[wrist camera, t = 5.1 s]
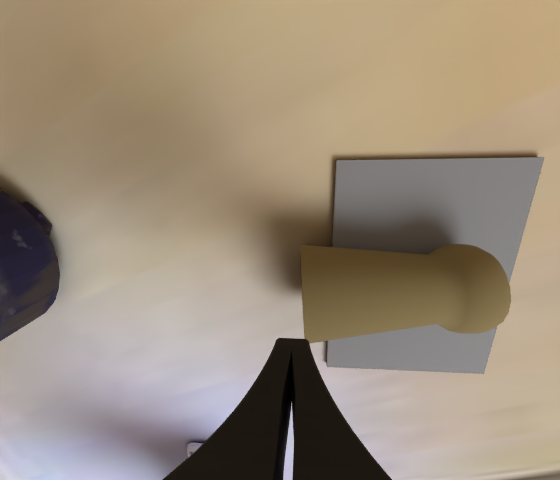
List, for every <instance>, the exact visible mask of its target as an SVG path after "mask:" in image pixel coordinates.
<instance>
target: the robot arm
mask: <svg viewBox="0 0 560 480" xmlns="http://www.w3.org/2000/svg"><path fill="white" fill-rule="evenodd" d="M291 403H292V412H293V430H294V460H293V480H392V479H391V478H390V477H389V476H388V475H387V473H386V472H385V471H384V470H383V469H382V468H381V466H380V465H379V464H378V463H377V462H376V460H375V459H374V458H373V457H372V456H371V454H370V453H369V452H368V450H367V449H366V448H365V446H364V445H363V444H362V442H361V441H360V440H359V438H358V437H357V436H356V434H355V433H354V432H353V430H352V429H351V427H350V426H349V424H348V423H347V421H346V420H345V418H344V417H343V415H342V414H341V412H340V410H339V409H338V407H337V405H336V404H335V402H334V400H333V399H332V397H331V395H330V393H329V391H328V389H327V387H326V385H325V383H324V381H323V379H322V377H321V375H320V373H319V370H318V368H317V366H316V363H315V361H314V358H313V355H312V352H311V349H310V345H309V341H308V340H307V339H291V338H278V339H277V340H276V342H275V345H274V348H273V350H272V352H271V354H270V356H269V358H268V360H267V362H266V364H265V366H264V367H263V369H262V371H261V373H260V374H259V376H258V377H257V379H256V381H255V382H254V384H253V385H252V387H251V388H250V390H249V391H248V393H247V394H246V395H245V397H244V398H243V399H242V401H241V402H240V403H239V405H238V406H237V407H236V408H235V410H234V411H233V412H232V413H231V414H230V416H229V417H228V418H227V419H226V420H225V421H224V423H223V424H222V425H221V426H220V427H219V428H218V429H217V430H216V431H215V432H214V433H213V434H212V435H211V436H210V437H209V438H208V439H207V440H206V441H205V442H204V443H189V444H188V446H187V454H188V458H187V459H186V460H185V461H184V462H183V463H182V464H180V465H179V466H178V467H177V468H176V469H175V470H173V471H172V472H171V473H170V474H169V475H168V476H166V477H165V478H164V479H163V480H283V471H284V460H285V451H286V443H287V435H288V427H289V419H290V411H291Z"/></svg>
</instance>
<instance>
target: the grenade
mask: <svg viewBox="0 0 560 480" xmlns="http://www.w3.org/2000/svg"><path fill="white" fill-rule="evenodd" d="M51 228H52V225H51V224H50V222H49V221H48V220H47V219H46V218H45V217H44V215H43V214H42V213H41V212H39V211H38V210H37V209H36V208H34V207H33V206H32V205H31V204H29V203H28V202H24V203H18V202H17V201H16V200H15V199H13V198H12V197H11V196H10V195H9V194H7V193H5V192H4V191H2V190H0V341H1V340H3V339H4V338H6V337H8V336H9V335H11V334H12V333H14V332H16V331H17V330H19V329H20V328H22V327H24V326H25V325H27V324H28V323H30V322H31V321H33V320H35V319H36V318H38V317H39V316H41V315H42V314H44V313H45V312H46V311H47V310H48V309H49V308H50V306H51V305H52V304H53V303H54V300H56V295H57V292H58V289H59V277H60V272H59V266H58V260H57V256H56V254H55V251H54V249H53V246H52V244H51V242H50V240H49V239H48V237H47V235H49V234H50V231H51Z"/></svg>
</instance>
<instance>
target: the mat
mask: <svg viewBox="0 0 560 480" xmlns="http://www.w3.org/2000/svg"><path fill="white" fill-rule="evenodd" d="M543 161H544V157H515V158H449V159H382V160H336V171H335V192H334V214H333V235H332V247H336V248H348V249H361V250H374V251H386V252H399V253H411V254H424V255H428V254H429V253H430V252H432V251H433V250H435V249H436V248H438V247H442V246H445V245H452V244H467V245H472V246H477V247H479V248H480V249H482V250H484V251H486V252H488V253H490V254H492V255H493V256H494V257H495V258H496V259H497V260H498V261H499V262H500V264H501V266H502V267H503V269H504V271H505V273H506V275H507V279H508V282H510V278H511V275H512V271H513V268H514V264H515V261H516V257H517V253H518V250H519V246H520V243H521V239H522V236H523V232H524V228H525V225H526V221H527V218H528V214H529V211H530V207H531V203H532V200H533V196H534V193H535V189H536V186H537V182H538V178H539V175H540V171H541V168H542V164H543ZM496 329H497V326H496V327H495V328H493V329H491V330H490V331H487V332H483V333H480V334H464V333H456V332H452V331H448V330H446V329H445V328H443V327H441V326H440V325H438V324H435V325H428V326H421V327H415V328H408V329H401V330H395V331H388V332H381V333H375V334H368V335H361V336H355V337H348V338H341V339H335V340H328V342H327V367H341V368H363V369H386V370H408V371H431V372H453V373H475V374H484V371H485V368H486V364H487V361H488V357H489V354H490V350H491V346H492V343H493V339H494V336H495V332H496Z"/></svg>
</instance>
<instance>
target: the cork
mask: <svg viewBox="0 0 560 480" xmlns="http://www.w3.org/2000/svg"><path fill="white" fill-rule="evenodd" d="M301 278H302V301H303V320H304V336H305V339H307V340H308V341H309V343H315V342H321V341H328V340H335V339H341V338H348V337H355V336H361V335H368V334H375V333H381V332H388V331H395V330H401V329H408V328H415V327H421V326H428V325H435V324H438V325H440V326H441V327H443V328H445V329H446V330H448V331H452V332H456V333H464V334H480V333H483V332H487V331H490V330H491V329H493V328H495V327H496V326H498V325H499V324H500V323H502V322H503V321H504V319H505V318H506V316H507V314H508V312H509V308H510V303H511V295H510V286H509V282H508V279H507V275H506V273H505V271H504V269H503V267H502V266H501V264H500V262H499V261H498V260H497V259H496V258H495V257H494V256H493V255H492V254H490V253H488V252H486V251H484V250H482V249H480V248H479V247H477V246H472V245H467V244H452V245H445V246H442V247H438V248H436V249H435V250H433V251H432V252H430V253H429V254H428V255H424V254H411V253H399V252H386V251H374V250H361V249H348V248H336V247H323V246H311V245H301Z"/></svg>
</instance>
